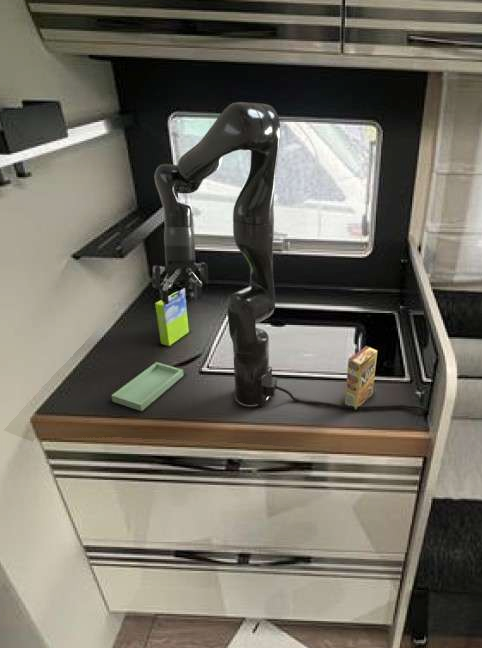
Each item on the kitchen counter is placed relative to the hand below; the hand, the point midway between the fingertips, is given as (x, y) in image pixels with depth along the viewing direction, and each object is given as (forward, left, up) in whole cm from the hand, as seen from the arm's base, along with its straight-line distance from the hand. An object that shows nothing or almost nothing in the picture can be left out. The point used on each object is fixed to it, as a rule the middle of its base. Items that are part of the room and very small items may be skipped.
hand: (182, 301), depth 110 cm
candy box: (-51, -9, -24) cm, 57 cm away
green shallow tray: (+5, +10, -24) cm, 27 cm away
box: (+16, -14, -24) cm, 32 cm away
